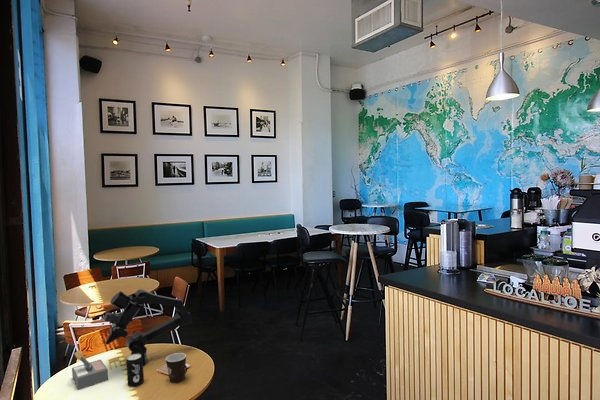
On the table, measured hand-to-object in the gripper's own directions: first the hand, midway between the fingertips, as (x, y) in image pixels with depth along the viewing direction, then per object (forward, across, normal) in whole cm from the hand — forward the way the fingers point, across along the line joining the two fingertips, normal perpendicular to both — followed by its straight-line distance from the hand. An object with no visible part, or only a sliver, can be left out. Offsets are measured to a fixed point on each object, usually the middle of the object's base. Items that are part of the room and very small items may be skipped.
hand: (106, 344), depth 187 cm
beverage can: (+5, +17, +17) cm, 25 cm away
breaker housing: (+15, +1, +4) cm, 16 cm away
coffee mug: (-5, +26, +29) cm, 39 cm away
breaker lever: (+11, +1, 0) cm, 11 cm away
